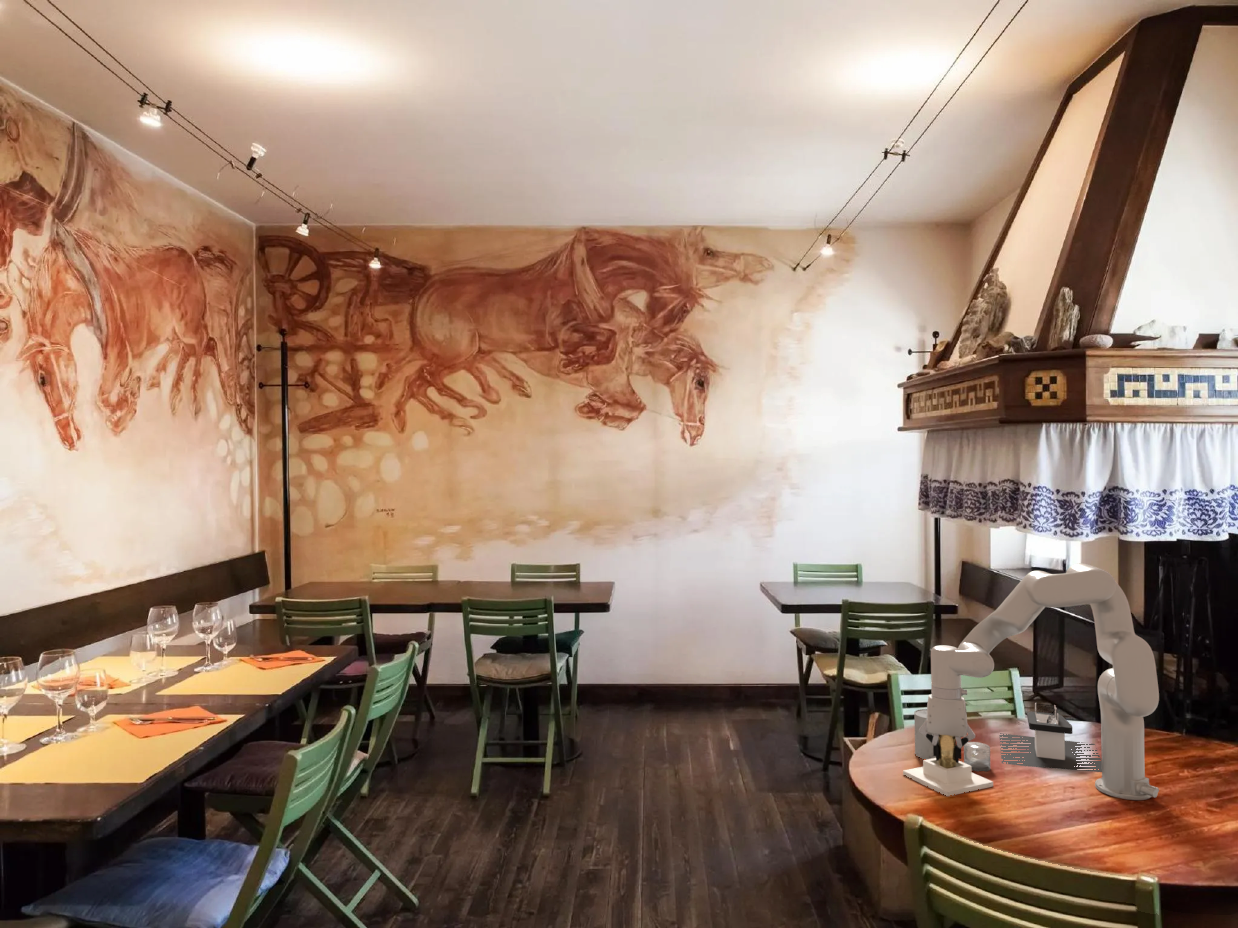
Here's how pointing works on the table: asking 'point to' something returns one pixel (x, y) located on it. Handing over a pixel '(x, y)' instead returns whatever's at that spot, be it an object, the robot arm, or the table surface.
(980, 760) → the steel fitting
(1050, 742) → the black-topped pedestal
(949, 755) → the cylinder
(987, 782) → the flange socket
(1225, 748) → the table surface
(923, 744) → the grey cylinder
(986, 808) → the table surface
